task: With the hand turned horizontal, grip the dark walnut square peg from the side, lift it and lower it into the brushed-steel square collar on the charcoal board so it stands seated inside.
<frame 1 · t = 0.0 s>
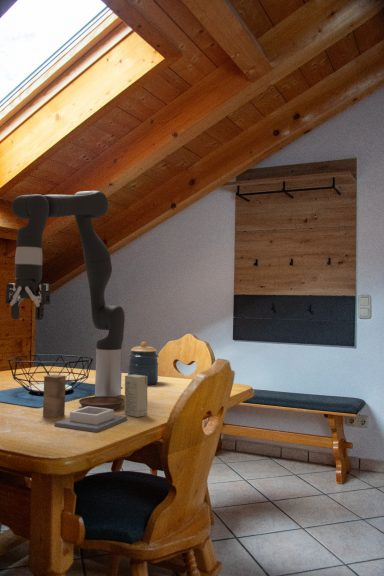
hand: (26, 319, 147), 29 cm above the table, tool pointing down, fingers open, 8 cm apart
skincare box: (135, 415, 158), on the table
saucer: (101, 408, 168), on the table
collar holder: (91, 422, 147), on the table
walnut square peg: (53, 415, 155), on the table
canister: (142, 383, 217), on the table
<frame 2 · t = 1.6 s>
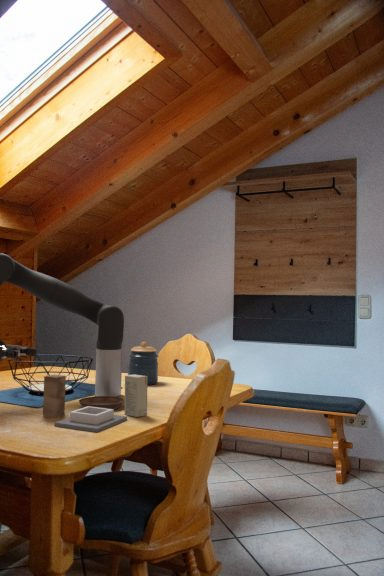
hand: (27, 353, 159), 18 cm above the table, tool horizontal, fingers open, 8 cm apart
nothing on the table moved.
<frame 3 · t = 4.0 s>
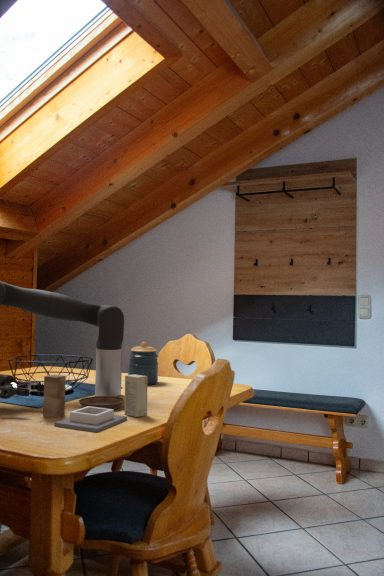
hand: (37, 390, 157), 7 cm above the table, tool horizontal, fingers open, 8 cm apart
nothing on the table moved.
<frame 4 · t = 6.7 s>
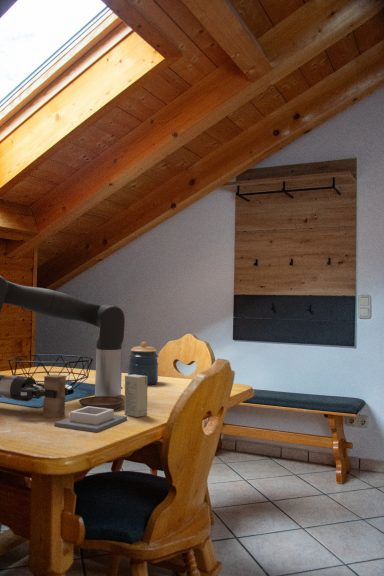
hand: (61, 393, 154), 7 cm above the table, tool horizontal, fingers closed on walnut square peg, 4 cm apart
walnut square peg: (53, 415, 155), on the table, touching gripper
everything else where it was.
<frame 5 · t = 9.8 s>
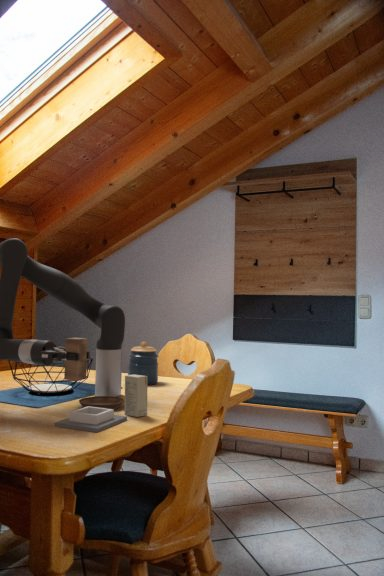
hand: (83, 356, 149), 19 cm above the table, tool horizontal, fingers closed on walnut square peg, 4 cm apart
walnut square peg: (75, 379, 150), point 12 cm above the table, touching gripper
everything else where it was.
when the fingers open (9 cm above the table, at t = 13.0 s): walnut square peg drops 1 cm, resting on collar holder.
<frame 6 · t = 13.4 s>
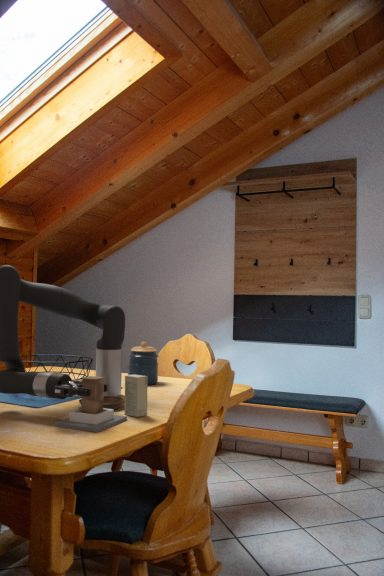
hand: (98, 390, 146), 10 cm above the table, tool horizontal, fingers open, 8 cm apart
walnut square peg: (91, 419, 147), point 1 cm above the table, touching collar holder
everything else where it was.
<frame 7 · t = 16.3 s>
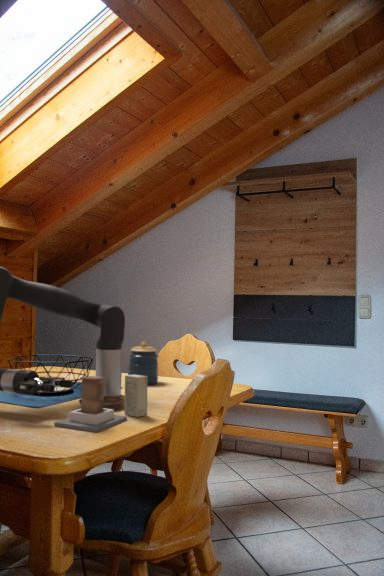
hand: (63, 386, 151), 9 cm above the table, tool horizontal, fingers open, 8 cm apart
nothing on the table moved.
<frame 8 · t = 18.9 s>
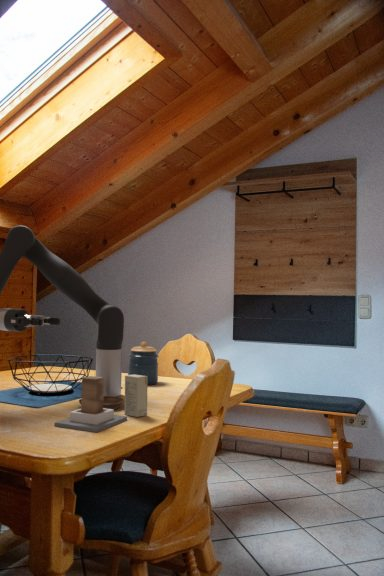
hand: (51, 321, 162), 28 cm above the table, tool horizontal, fingers open, 8 cm apart
nothing on the table moved.
at the end: walnut square peg 0.0 cm off-centre on the collar holder, point 1.0 cm above the collar holder's base; walnut square peg tilted 0°; the gripper is holding nothing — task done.
